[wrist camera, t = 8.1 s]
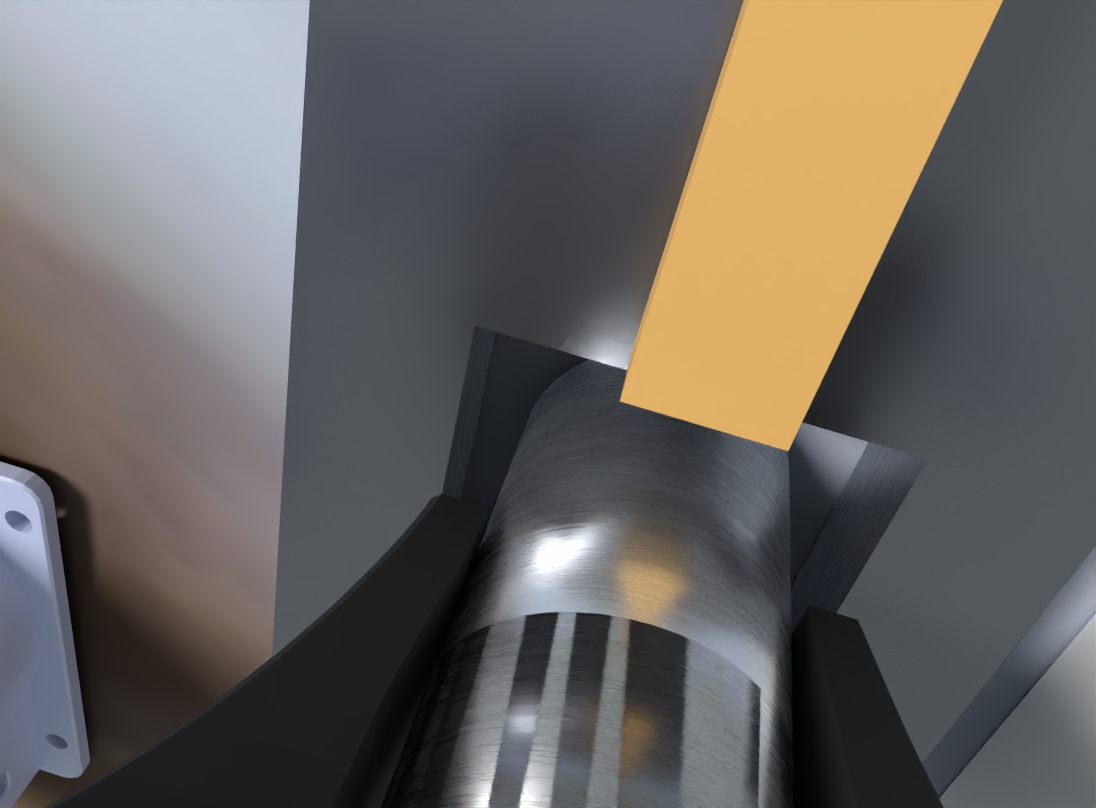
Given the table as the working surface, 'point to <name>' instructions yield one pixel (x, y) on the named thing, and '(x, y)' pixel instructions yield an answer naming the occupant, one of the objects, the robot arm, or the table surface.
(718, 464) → the brushed steel cylinder
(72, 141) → the table surface
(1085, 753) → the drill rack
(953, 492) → the dark grey socket tray
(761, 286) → the bar
